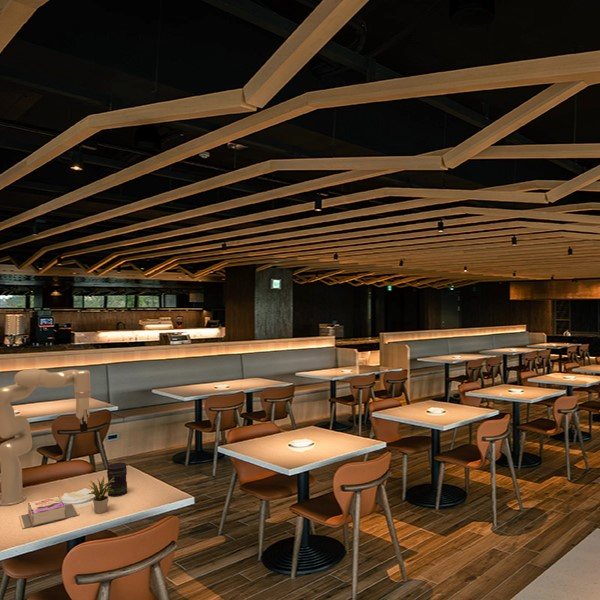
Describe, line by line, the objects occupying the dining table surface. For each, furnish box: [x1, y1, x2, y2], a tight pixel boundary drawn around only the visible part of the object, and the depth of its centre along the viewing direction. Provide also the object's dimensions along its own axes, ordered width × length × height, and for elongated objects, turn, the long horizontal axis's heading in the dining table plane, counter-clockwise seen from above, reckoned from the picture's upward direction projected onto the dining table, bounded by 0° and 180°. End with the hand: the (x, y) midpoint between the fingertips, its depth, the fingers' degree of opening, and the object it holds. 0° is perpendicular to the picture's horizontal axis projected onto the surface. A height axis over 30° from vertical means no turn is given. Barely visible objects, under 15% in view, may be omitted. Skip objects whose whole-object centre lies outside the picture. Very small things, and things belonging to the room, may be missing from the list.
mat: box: [18, 502, 80, 530], centre depth 240 cm, size 16×24×1 cm
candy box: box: [27, 495, 66, 527], centre depth 239 cm, size 14×6×16 cm
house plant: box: [87, 476, 114, 514], centre depth 244 cm, size 14×14×16 cm
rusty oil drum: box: [106, 462, 128, 498], centre depth 267 cm, size 10×10×15 cm
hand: (83, 431), depth 253 cm, fingers closed
